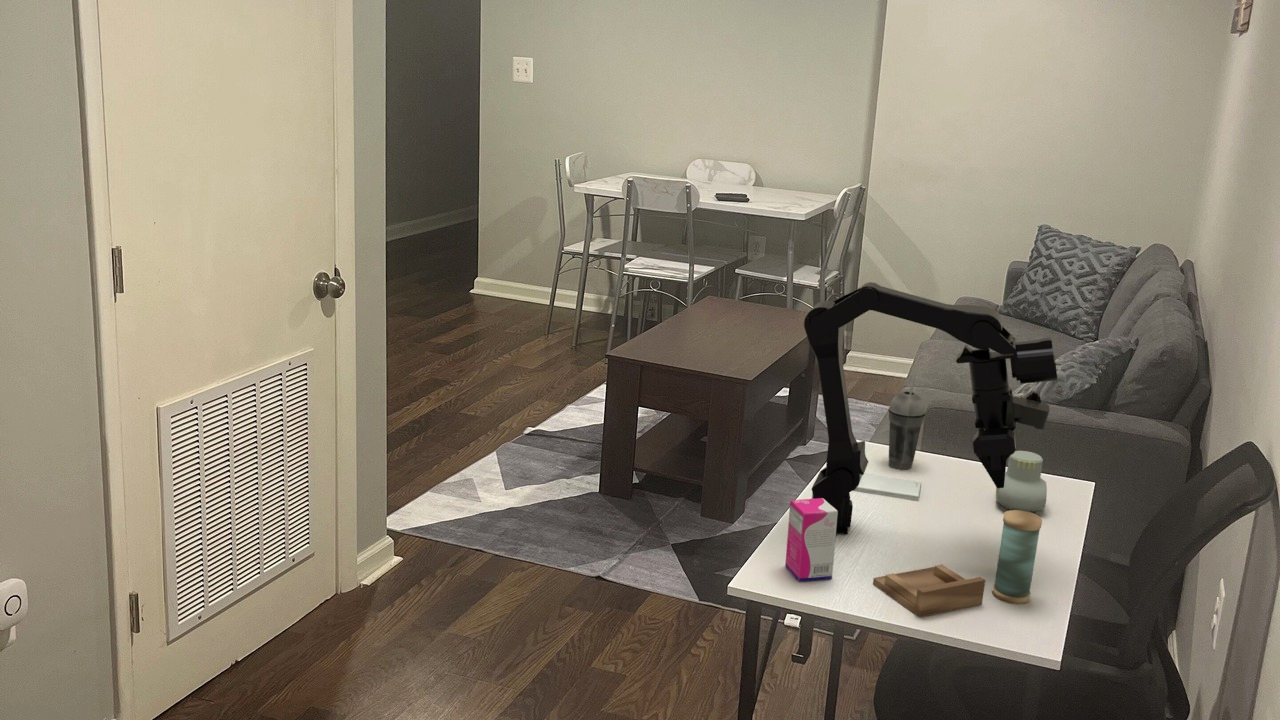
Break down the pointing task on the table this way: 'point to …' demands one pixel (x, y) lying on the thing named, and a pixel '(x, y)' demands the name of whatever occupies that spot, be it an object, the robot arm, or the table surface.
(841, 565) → the table surface
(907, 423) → the beverage cup
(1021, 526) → the oak spool
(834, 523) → the supplement box
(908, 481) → the hard drive
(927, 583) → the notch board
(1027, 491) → the air freshener
